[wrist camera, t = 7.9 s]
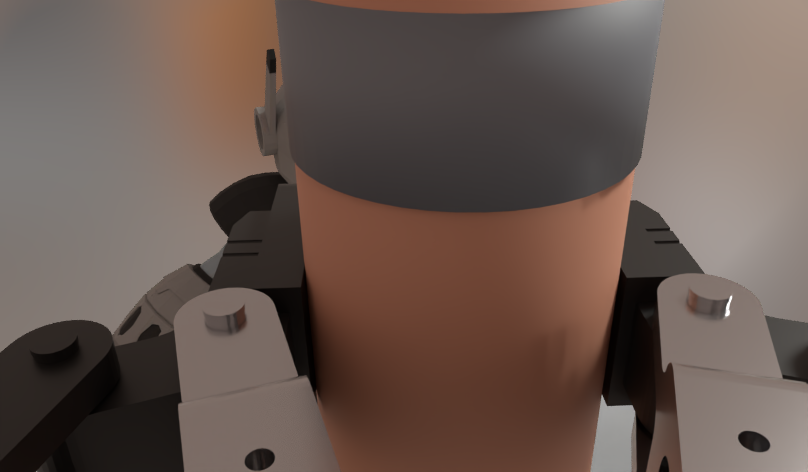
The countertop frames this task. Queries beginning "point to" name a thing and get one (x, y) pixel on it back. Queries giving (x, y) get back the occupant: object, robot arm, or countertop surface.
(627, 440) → the countertop surface
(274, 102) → the robot
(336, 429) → the banded orange cylinder
